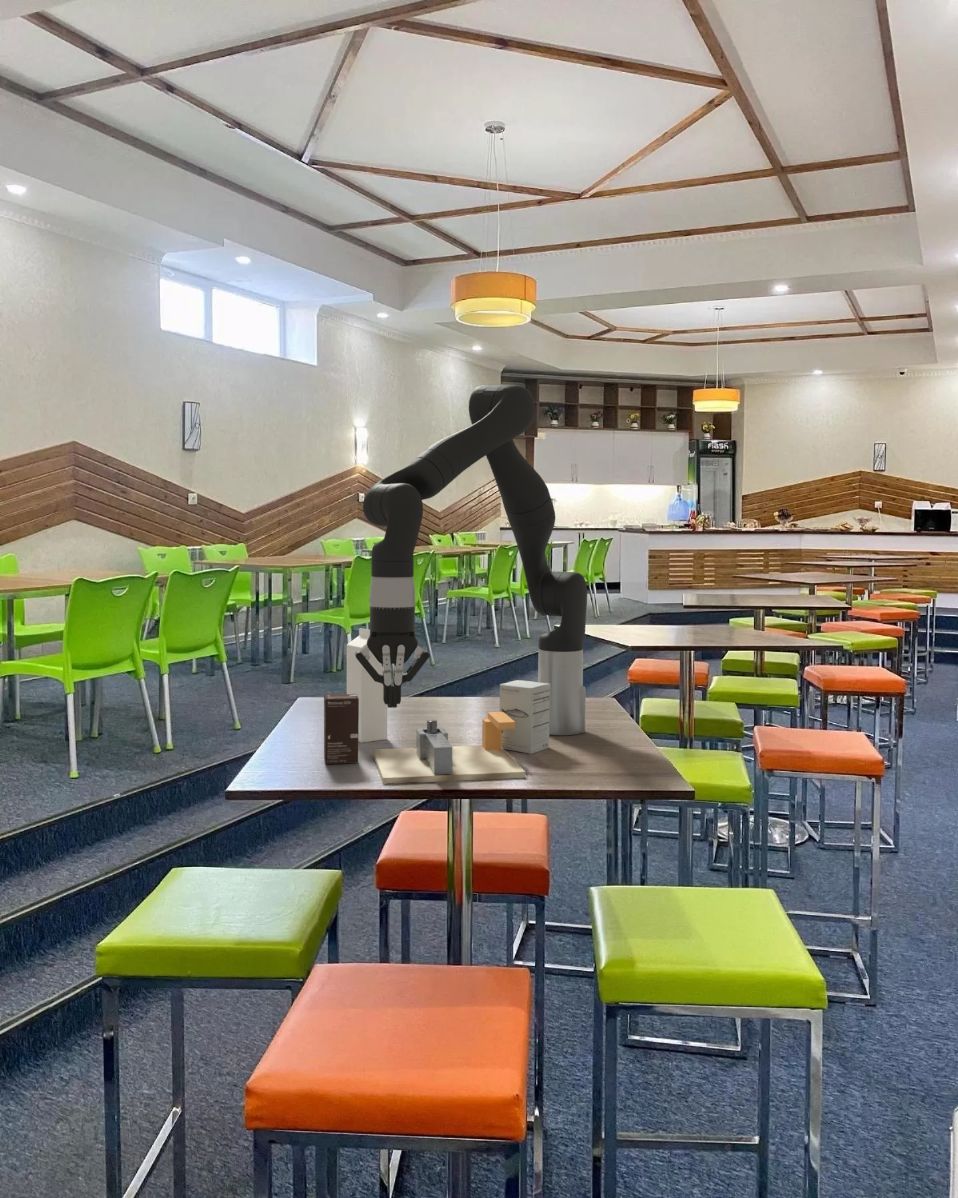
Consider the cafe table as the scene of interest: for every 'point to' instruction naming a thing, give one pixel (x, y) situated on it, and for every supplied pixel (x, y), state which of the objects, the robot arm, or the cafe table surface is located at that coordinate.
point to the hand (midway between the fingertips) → (392, 706)
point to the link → (435, 750)
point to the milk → (366, 692)
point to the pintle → (431, 726)
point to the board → (464, 765)
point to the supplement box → (526, 715)
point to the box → (341, 728)
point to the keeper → (495, 729)
